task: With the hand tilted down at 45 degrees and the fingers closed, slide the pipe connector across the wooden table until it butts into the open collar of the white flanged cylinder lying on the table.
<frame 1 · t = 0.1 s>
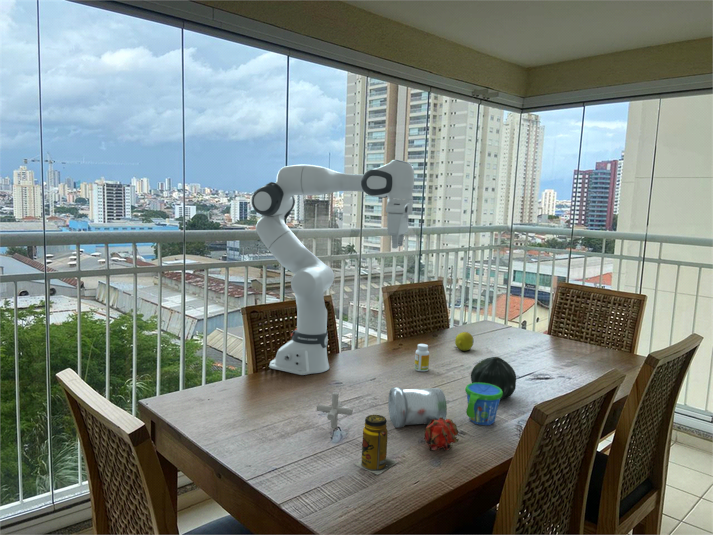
hand: (397, 247, 184), 48 cm above the table, tool pointing down, fingers open, 8 cm apart
white flanged cylinder: (416, 422, 154), on the table
lemon: (464, 350, 233), on the table
snack cup: (481, 421, 157), on the table
condiment: (376, 464, 129), on the table
squash: (492, 396, 179), on the table
dragon fruit: (439, 448, 139), on the table
supplement bottle: (421, 370, 203), on the table
pipe connector: (333, 427, 148), on the table
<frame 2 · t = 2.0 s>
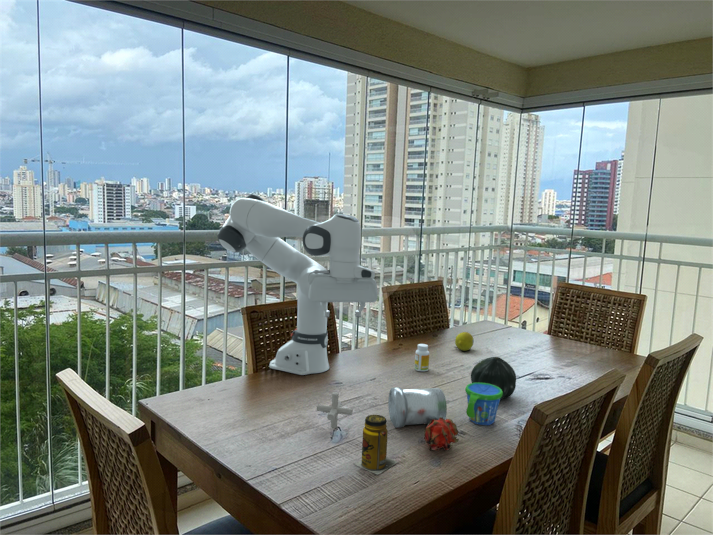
hand: (342, 316, 155), 29 cm above the table, tool pointing down, fingers open, 8 cm apart
nothing on the table moved.
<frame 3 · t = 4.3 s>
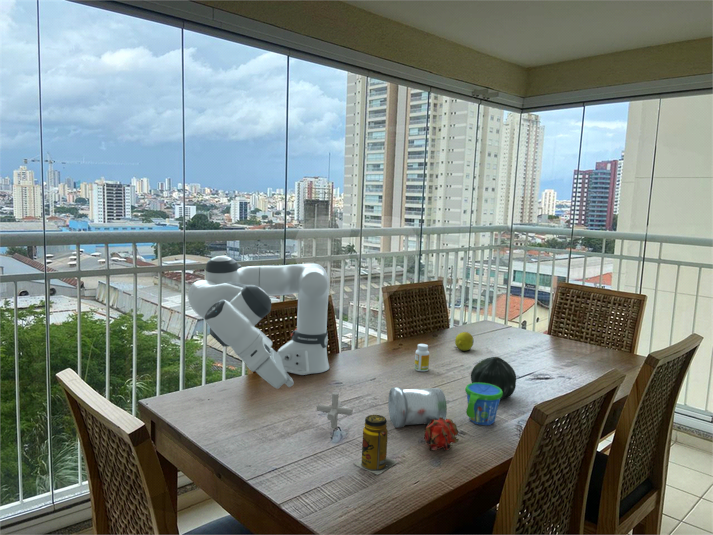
hand: (291, 383, 144), 13 cm above the table, tool tilted 45°, fingers closed
nothing on the table moved.
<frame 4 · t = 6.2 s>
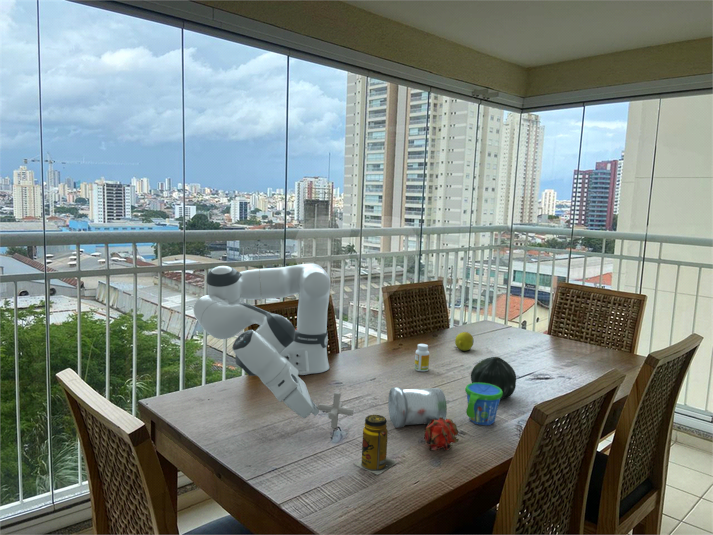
hand: (316, 411, 146), 5 cm above the table, tool tilted 45°, fingers closed
pipe connector: (333, 427, 148), on the table, touching gripper
everything else where it was.
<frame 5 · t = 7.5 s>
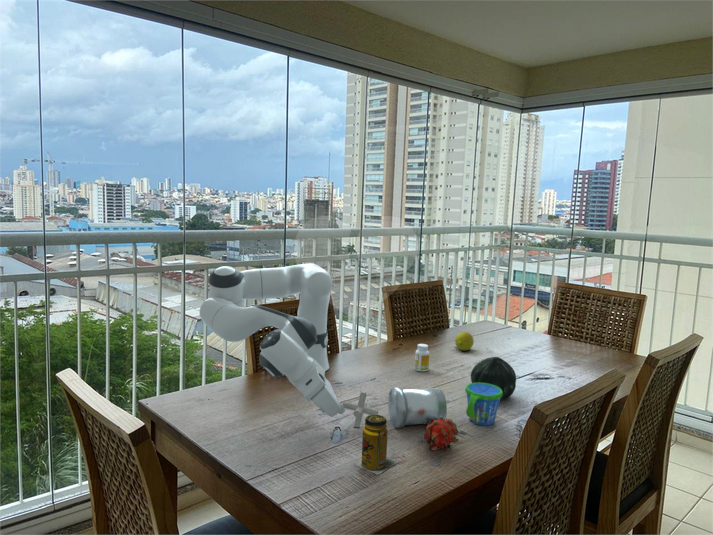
hand: (342, 410, 147), 5 cm above the table, tool tilted 45°, fingers closed
pipe connector: (356, 426, 149), on the table, touching gripper
everything else where it was.
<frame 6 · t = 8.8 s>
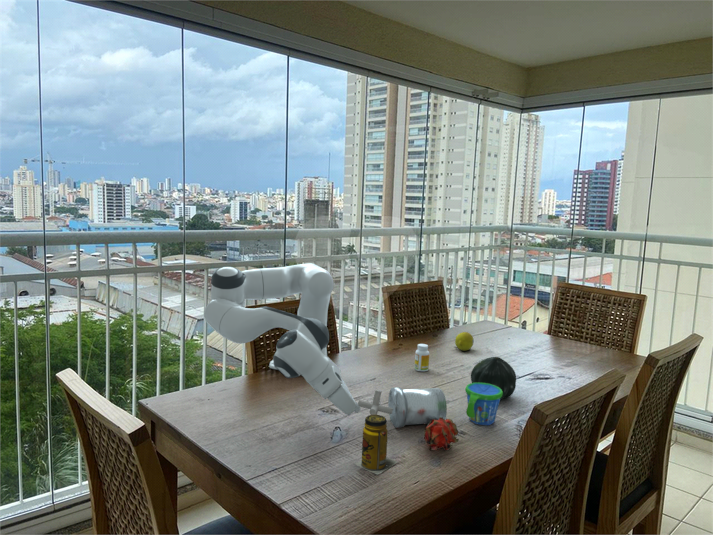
hand: (357, 409, 149), 5 cm above the table, tool tilted 45°, fingers closed
pipe connector: (371, 424, 151), on the table, touching gripper
everything else where it was.
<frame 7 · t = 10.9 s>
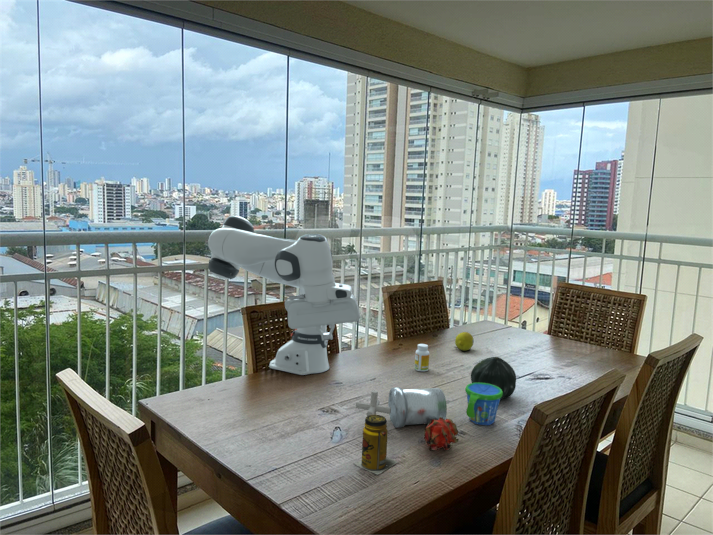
hand: (327, 339, 148), 24 cm above the table, tool pointing down, fingers closed
pipe connector: (371, 425, 151), on the table
everything else where it was.
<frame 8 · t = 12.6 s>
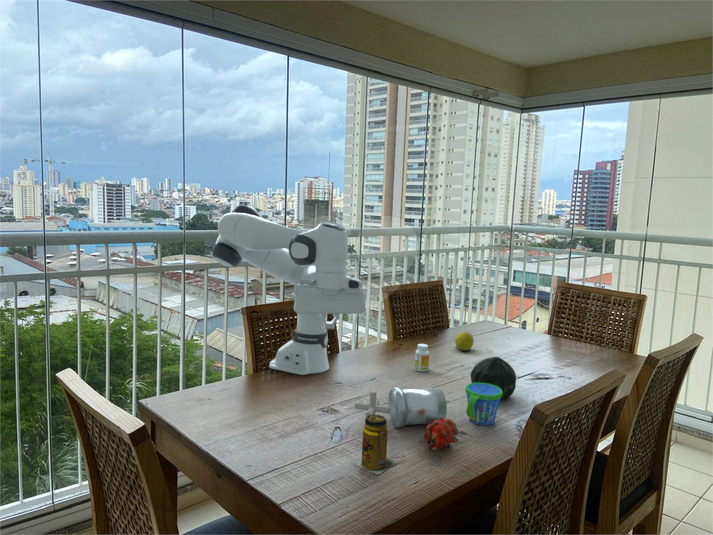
hand: (328, 328, 150), 27 cm above the table, tool pointing down, fingers closed
nothing on the table moved.
at the end: pipe connector 13.4 cm from the white flanged cylinder (horizontally); pipe connector moved 11.2 cm from its start; pipe connector tilted 2° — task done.
